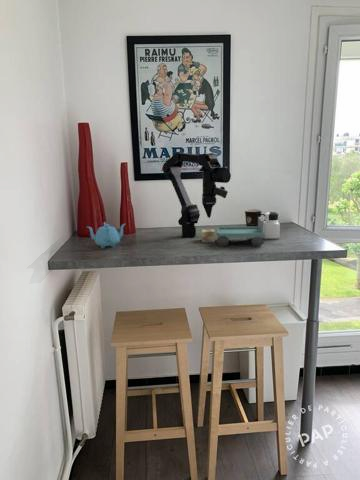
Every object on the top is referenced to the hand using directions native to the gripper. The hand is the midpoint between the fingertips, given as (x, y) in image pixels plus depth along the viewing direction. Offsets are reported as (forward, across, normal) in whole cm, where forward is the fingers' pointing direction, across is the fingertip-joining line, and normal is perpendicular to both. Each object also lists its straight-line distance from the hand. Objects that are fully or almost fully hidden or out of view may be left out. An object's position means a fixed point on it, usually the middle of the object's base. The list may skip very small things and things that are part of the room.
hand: (208, 215), depth 167 cm
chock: (+12, 0, 0) cm, 12 cm away
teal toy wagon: (+12, -5, -14) cm, 19 cm away
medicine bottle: (+12, +6, -30) cm, 33 cm away
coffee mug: (+12, +23, -24) cm, 36 cm away
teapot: (+12, -8, +46) cm, 49 cm away
